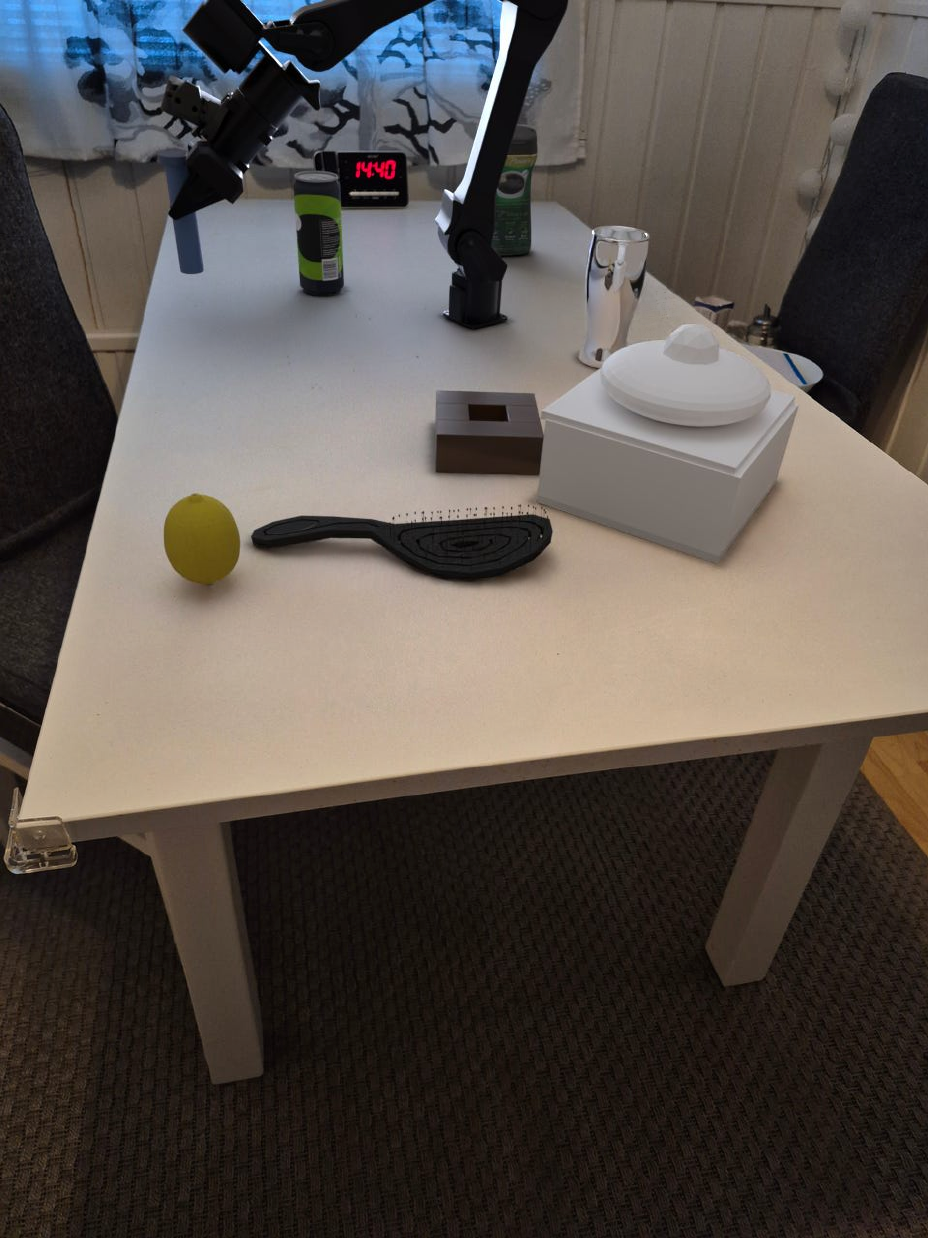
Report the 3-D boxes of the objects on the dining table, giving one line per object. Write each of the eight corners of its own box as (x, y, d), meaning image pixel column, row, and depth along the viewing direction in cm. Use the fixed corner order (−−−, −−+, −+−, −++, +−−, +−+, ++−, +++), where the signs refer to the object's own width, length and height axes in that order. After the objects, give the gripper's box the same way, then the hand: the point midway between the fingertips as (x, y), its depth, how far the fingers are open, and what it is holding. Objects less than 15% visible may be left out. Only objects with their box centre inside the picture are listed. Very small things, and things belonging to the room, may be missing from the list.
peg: (197, 263, 111) (181, 148, 103) (215, 271, 109) (200, 154, 101) (169, 269, 108) (150, 152, 100) (186, 277, 106) (169, 158, 98)
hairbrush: (259, 487, 75) (551, 491, 75) (265, 524, 78) (549, 528, 77) (236, 540, 69) (556, 545, 68) (243, 578, 71) (553, 583, 70)
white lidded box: (717, 564, 74) (765, 385, 65) (531, 500, 82) (549, 330, 72) (777, 482, 87) (824, 321, 77) (610, 432, 94) (634, 279, 84)
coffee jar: (521, 243, 150) (531, 119, 139) (535, 256, 144) (546, 128, 133) (466, 244, 148) (472, 119, 137) (477, 257, 142) (484, 128, 131)
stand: (435, 425, 93) (436, 389, 91) (530, 428, 94) (534, 392, 91) (435, 472, 85) (436, 434, 83) (540, 474, 86) (544, 437, 83)
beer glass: (637, 356, 111) (658, 230, 102) (621, 374, 106) (642, 244, 97) (585, 345, 114) (601, 221, 104) (567, 363, 108) (582, 234, 99)
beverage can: (348, 284, 129) (344, 171, 119) (339, 298, 124) (334, 181, 114) (306, 281, 129) (298, 168, 120) (295, 295, 124) (287, 178, 115)
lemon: (179, 564, 71) (162, 476, 66) (249, 563, 71) (238, 476, 67) (166, 605, 67) (148, 514, 62) (241, 604, 67) (228, 514, 62)
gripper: (200, 38, 102) (119, 144, 107) (195, 57, 88) (102, 178, 92) (275, 116, 108) (196, 213, 113) (282, 146, 94) (190, 255, 99)
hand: (172, 213), depth 104 cm, fingers closed on peg, 3 cm apart
